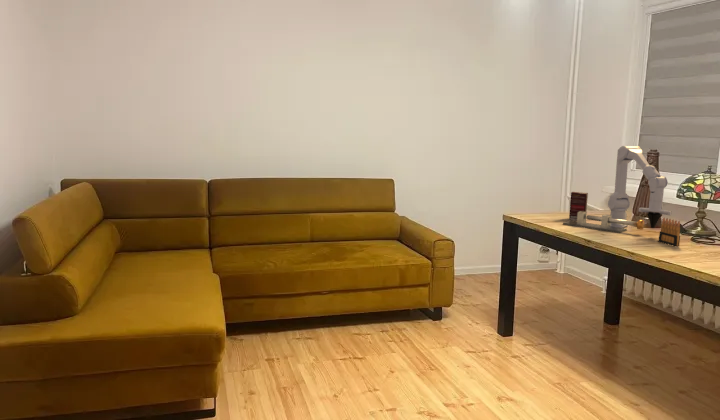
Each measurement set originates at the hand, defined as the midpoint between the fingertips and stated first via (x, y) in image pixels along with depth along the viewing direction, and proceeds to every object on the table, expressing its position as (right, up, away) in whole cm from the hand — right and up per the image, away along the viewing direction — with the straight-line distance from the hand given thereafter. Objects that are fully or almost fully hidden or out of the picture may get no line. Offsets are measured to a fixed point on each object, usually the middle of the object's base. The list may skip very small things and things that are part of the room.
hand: (652, 227), depth 275 cm
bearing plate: (-21, -1, +21) cm, 29 cm away
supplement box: (-21, +3, +43) cm, 48 cm away
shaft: (-13, +1, +13) cm, 19 cm away
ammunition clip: (-1, -7, -16) cm, 18 cm away
